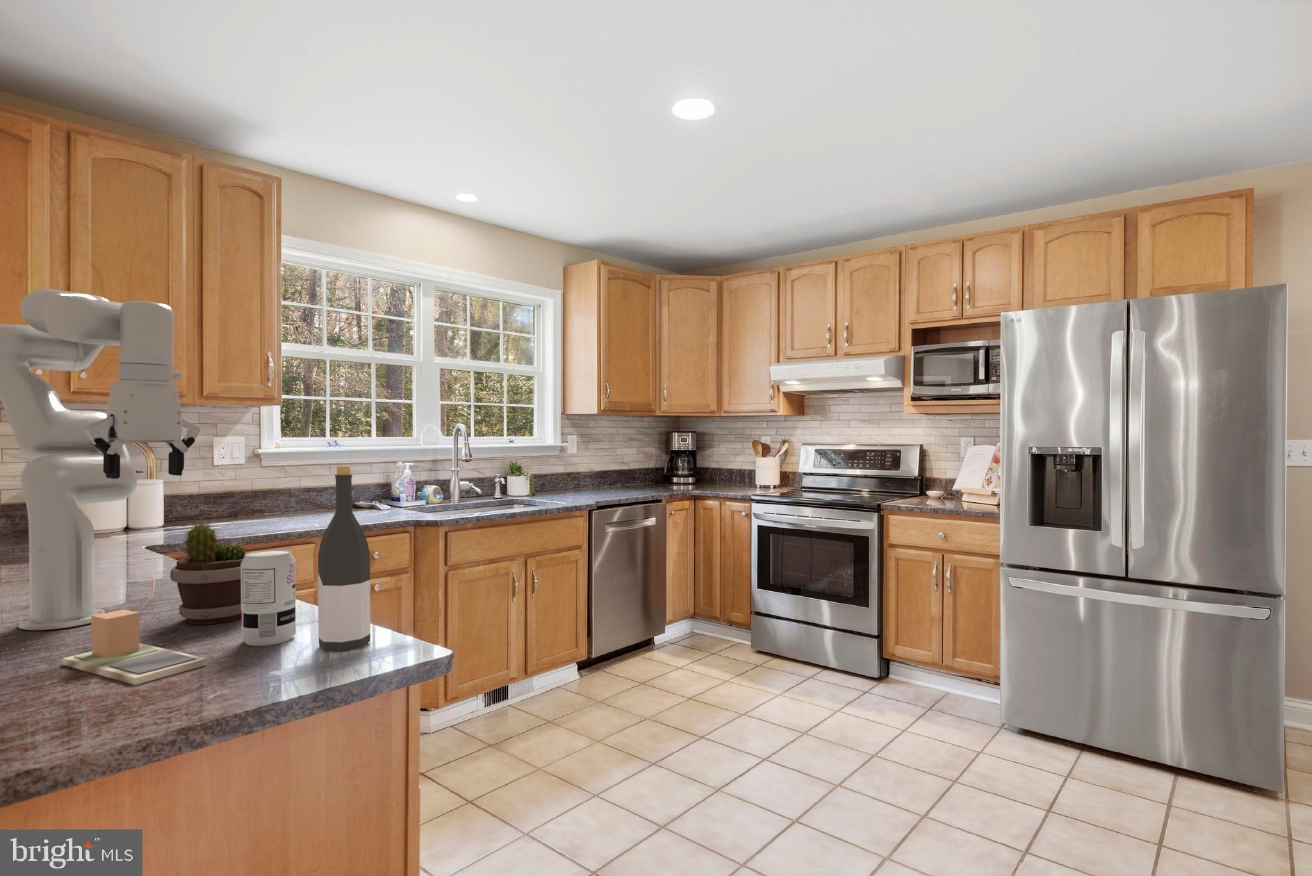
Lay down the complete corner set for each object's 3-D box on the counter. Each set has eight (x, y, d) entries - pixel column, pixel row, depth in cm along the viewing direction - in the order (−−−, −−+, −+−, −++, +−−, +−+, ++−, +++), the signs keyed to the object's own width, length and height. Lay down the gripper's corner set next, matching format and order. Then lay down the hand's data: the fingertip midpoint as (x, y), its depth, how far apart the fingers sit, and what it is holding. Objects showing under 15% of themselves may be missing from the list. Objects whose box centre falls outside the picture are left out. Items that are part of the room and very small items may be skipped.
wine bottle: (368, 649, 120) (367, 466, 120) (314, 653, 118) (313, 467, 117) (372, 636, 128) (371, 464, 127) (322, 640, 125) (321, 465, 125)
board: (63, 664, 113) (62, 656, 113) (134, 647, 121) (134, 640, 121) (135, 685, 103) (135, 676, 103) (206, 664, 112) (206, 657, 112)
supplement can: (234, 640, 125) (233, 553, 125) (285, 631, 131) (284, 547, 131) (251, 650, 120) (250, 558, 120) (303, 639, 126) (302, 552, 126)
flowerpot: (221, 606, 150) (220, 509, 150) (278, 613, 145) (277, 512, 145) (151, 624, 136) (150, 517, 136) (210, 631, 131) (209, 520, 131)
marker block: (91, 654, 114) (91, 615, 114) (123, 646, 118) (123, 609, 118) (107, 658, 112) (107, 619, 112) (139, 650, 116) (139, 612, 116)
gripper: (187, 379, 133) (186, 472, 134) (75, 372, 118) (74, 477, 119) (211, 379, 130) (209, 475, 130) (98, 372, 114) (97, 481, 115)
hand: (145, 476), depth 124 cm, fingers open, 9 cm apart
